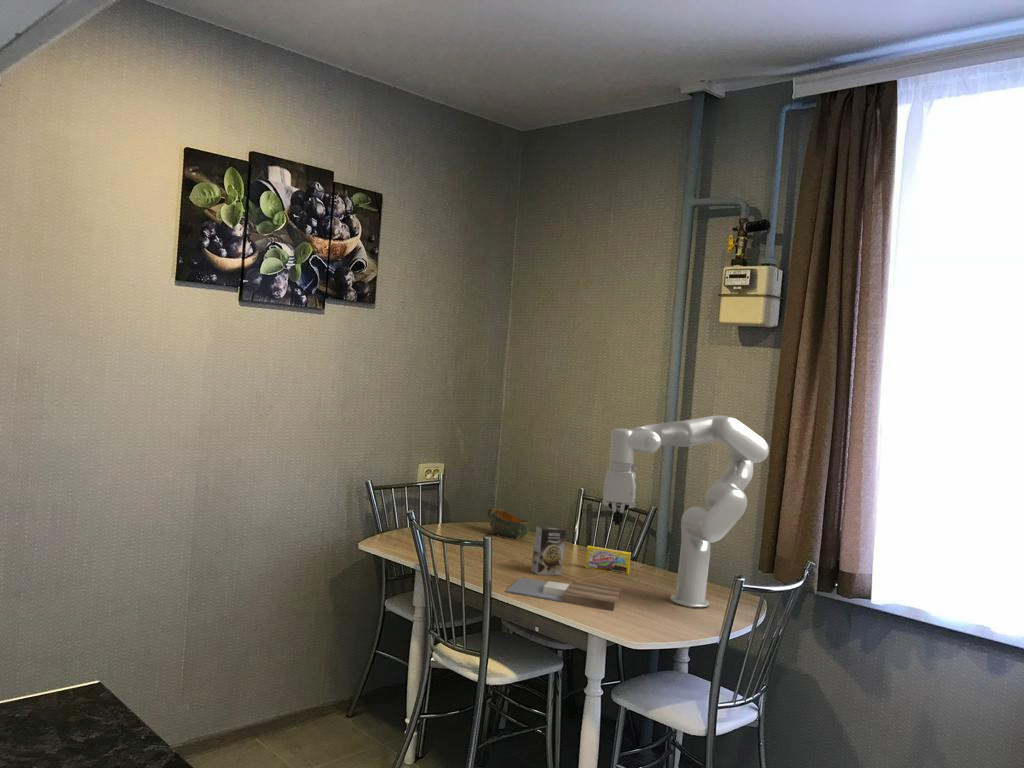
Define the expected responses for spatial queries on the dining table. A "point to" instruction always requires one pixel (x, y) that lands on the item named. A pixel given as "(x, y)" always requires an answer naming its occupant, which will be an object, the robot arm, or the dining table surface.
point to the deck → (592, 595)
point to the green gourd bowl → (507, 524)
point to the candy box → (607, 559)
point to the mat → (532, 589)
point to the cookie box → (548, 550)
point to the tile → (555, 588)
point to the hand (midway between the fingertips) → (617, 524)
